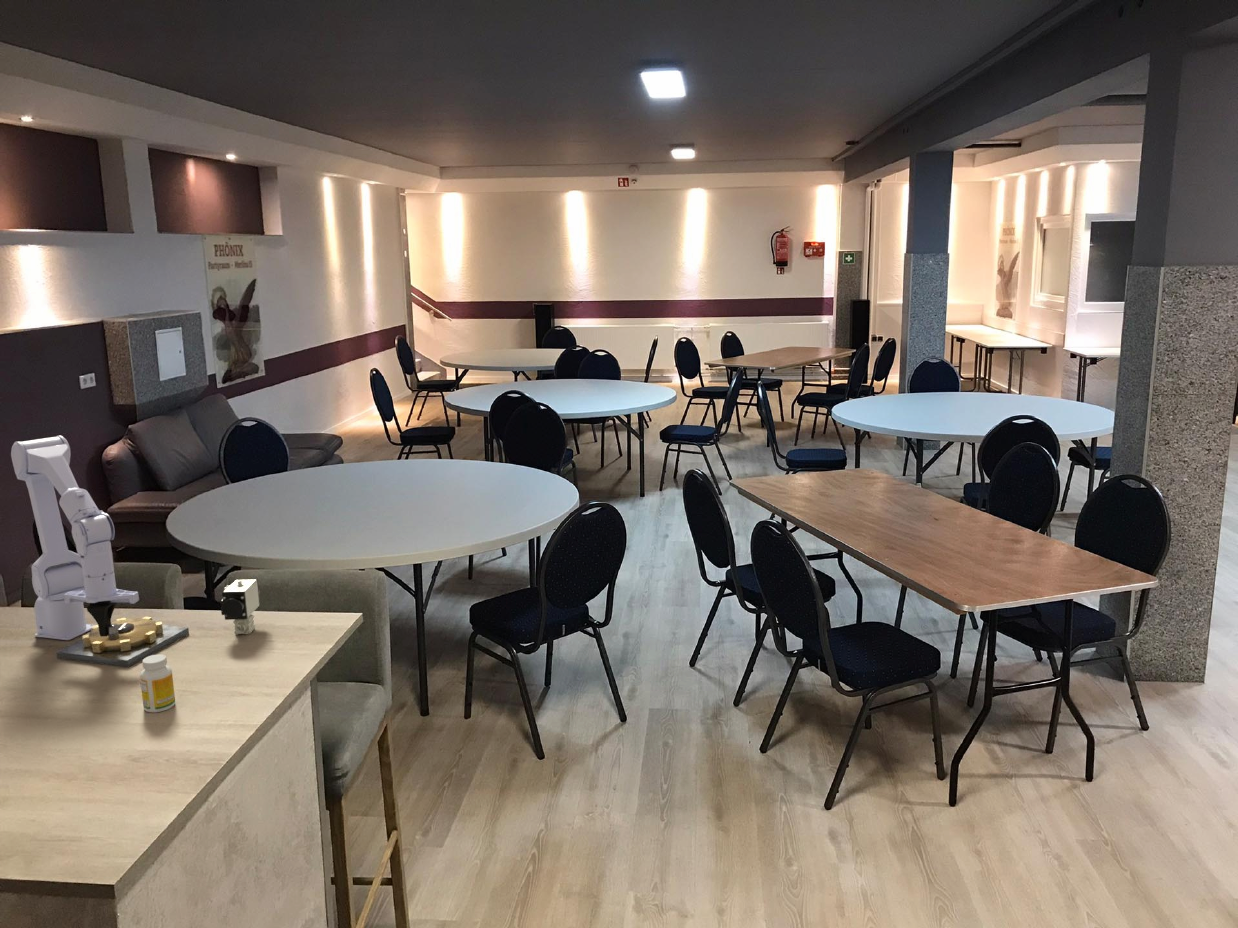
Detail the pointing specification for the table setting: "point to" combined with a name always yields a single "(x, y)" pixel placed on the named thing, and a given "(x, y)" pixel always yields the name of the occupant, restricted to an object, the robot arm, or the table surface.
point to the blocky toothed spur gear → (123, 634)
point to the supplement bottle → (157, 684)
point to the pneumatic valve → (241, 604)
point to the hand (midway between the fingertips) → (106, 634)
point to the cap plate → (124, 657)
